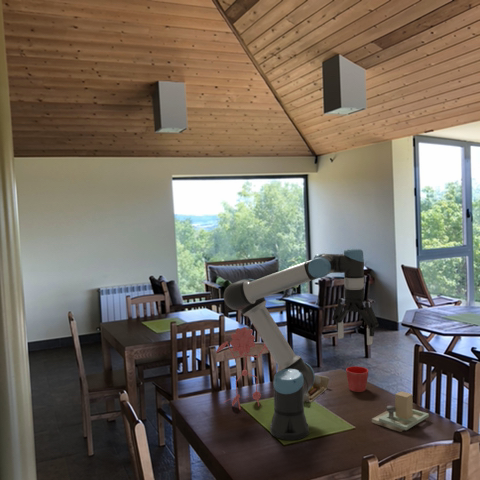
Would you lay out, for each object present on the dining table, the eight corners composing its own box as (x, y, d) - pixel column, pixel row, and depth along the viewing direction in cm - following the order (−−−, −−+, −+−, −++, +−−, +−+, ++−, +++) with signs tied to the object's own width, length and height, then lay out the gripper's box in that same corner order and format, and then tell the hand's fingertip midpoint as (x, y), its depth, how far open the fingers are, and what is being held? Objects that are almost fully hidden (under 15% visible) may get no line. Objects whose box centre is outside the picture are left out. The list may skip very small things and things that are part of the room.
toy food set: (296, 382, 252) (296, 367, 252) (329, 388, 243) (329, 372, 242) (272, 398, 231) (272, 382, 231) (308, 405, 221) (307, 388, 221)
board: (371, 422, 201) (371, 405, 200) (395, 409, 213) (394, 394, 212) (400, 432, 191) (400, 414, 191) (423, 418, 203) (423, 402, 203)
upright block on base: (378, 421, 198) (378, 396, 198) (402, 408, 210) (401, 385, 210) (406, 430, 189) (406, 404, 189) (428, 416, 201) (428, 392, 201)
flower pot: (371, 387, 241) (371, 367, 240) (364, 394, 231) (364, 374, 231) (350, 384, 246) (350, 364, 246) (343, 391, 237) (342, 371, 236)
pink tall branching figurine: (277, 403, 223) (274, 327, 222) (223, 413, 214) (219, 333, 213) (263, 393, 237) (261, 321, 236) (212, 402, 228) (209, 327, 227)
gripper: (387, 290, 187) (388, 344, 188) (334, 284, 206) (335, 334, 207) (376, 292, 182) (377, 348, 183) (323, 286, 201) (324, 337, 202)
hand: (355, 341), depth 195 cm, fingers open, 13 cm apart
